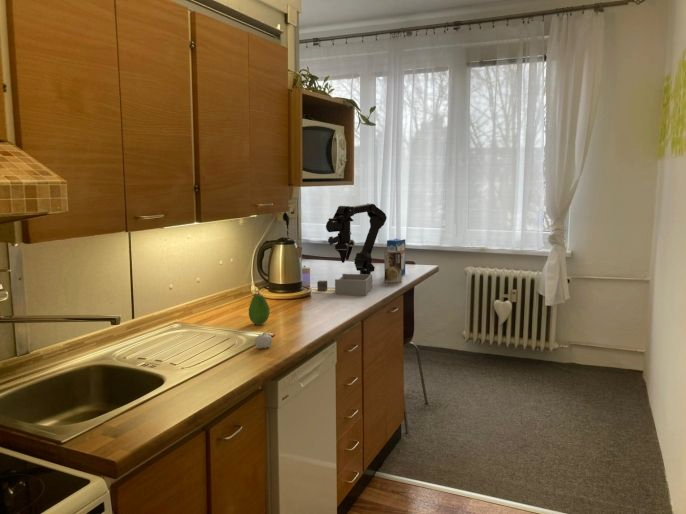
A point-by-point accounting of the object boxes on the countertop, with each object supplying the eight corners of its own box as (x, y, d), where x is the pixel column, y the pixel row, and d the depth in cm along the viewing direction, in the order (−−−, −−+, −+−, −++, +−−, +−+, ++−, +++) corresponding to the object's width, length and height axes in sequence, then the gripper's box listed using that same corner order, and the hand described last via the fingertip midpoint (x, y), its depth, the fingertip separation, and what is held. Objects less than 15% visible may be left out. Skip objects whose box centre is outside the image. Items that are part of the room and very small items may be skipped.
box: (342, 287, 283) (342, 273, 282) (372, 288, 280) (372, 274, 278) (335, 294, 268) (334, 279, 266) (366, 295, 264) (365, 280, 263)
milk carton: (396, 273, 323) (395, 238, 320) (405, 274, 320) (405, 239, 317) (387, 275, 315) (386, 240, 312) (396, 276, 312) (396, 241, 309)
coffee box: (401, 280, 301) (401, 250, 298) (401, 282, 294) (401, 252, 292) (384, 280, 302) (384, 250, 299) (384, 282, 295) (384, 252, 293)
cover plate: (312, 288, 286) (312, 278, 285) (339, 289, 283) (339, 279, 282) (305, 294, 272) (304, 283, 271) (333, 295, 269) (332, 284, 268)
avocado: (250, 327, 210) (249, 296, 209) (248, 322, 218) (246, 292, 216) (271, 326, 213) (270, 295, 211) (268, 321, 220) (267, 291, 218)
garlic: (267, 344, 190) (266, 329, 189) (275, 347, 186) (275, 332, 185) (251, 347, 186) (250, 332, 185) (259, 351, 182) (259, 336, 181)
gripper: (333, 228, 293) (334, 258, 296) (324, 232, 275) (325, 263, 278) (354, 229, 291) (354, 258, 293) (346, 232, 273) (347, 264, 275)
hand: (345, 261), depth 285 cm, fingers open, 9 cm apart
